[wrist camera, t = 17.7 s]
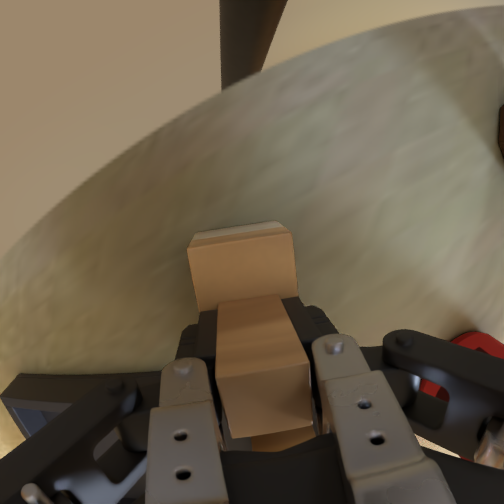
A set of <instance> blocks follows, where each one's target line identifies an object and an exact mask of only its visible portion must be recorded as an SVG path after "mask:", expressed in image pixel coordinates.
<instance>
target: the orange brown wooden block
mask: <svg viewBox="0 0 504 504" xmlns="http://www.w3.org/2000/svg"><path fill="white" fill-rule="evenodd" d="M314 437H316V435H315V432H314V429H313V426H312V425H310V426H305V427H301V428H296V429H291V430H286V431H280V432H275V433H269V434H263V435H256V436H251V444H252V451H258V452H278V451H282V450H285V449H287V448H290V447H292V446H295V445H297V444H300V443H302V442H305V441H307V440H309V439H312V438H314Z"/></svg>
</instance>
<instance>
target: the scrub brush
mask: <svg viewBox="0 0 504 504" xmlns="http://www.w3.org/2000/svg"><path fill="white" fill-rule="evenodd" d="M187 255H188V260H189V265H190V270H191V275H192V280H193V285H194V290H195V295H196V300H197V304H198V309H199V314H200V311H207V310H214V309H218V316H217V342H216V361H215V380H216V384H217V388H218V392H219V395H220V399H221V403H222V407H223V410H224V414H225V418H226V421H227V425H228V428H229V432H230V435H231V437H232V438H242V437H249V436H256V435H263V434H269V433H275V432H280V431H286V430H291V429H296V428H301V427H305V426H310V425H312V424H313V411H312V389H311V371H310V361H309V359H308V357H307V354H306V352H305V350H304V348H303V346H302V344H301V342H300V340H299V338H298V336H297V333H296V331H295V329H294V327H293V325H292V323H291V320H290V318H289V316H288V314H287V312H286V310H285V308H284V305H283V303H282V301H281V299H284V298H290V297H296V296H298V286H297V276H296V266H295V256H294V247H293V238H292V233H291V232H290V231H289V230H288V229H286V228H285V227H284V226H283V225H281V224H280V223H279V222H278V221H276V220H275V221H269V222H262V223H255V224H248V225H242V226H235V227H229V228H222V229H216V230H210V231H203V232H197V233H195V235H194V236H193V238H192V240H191V242H190V244H189V246H188V247H187ZM298 297H299V296H298Z"/></svg>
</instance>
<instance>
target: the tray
mask: <svg viewBox="0 0 504 504" xmlns="http://www.w3.org/2000/svg"><path fill="white" fill-rule="evenodd" d="M161 373H162V371H157V372H144V373H127V374H104V375H37V374H18V375H17V377H16V378H15V379H14V380H13V381H12V382H11V383H10V385H9V386H8V387H7V388H6V389H5V390H4V392H3V393H2V394H1V395H0V398H1V400H2V402H3V404H4V405H5V407H6V409H7V410H8V412H9V414H10V415H11V417H12V418H13V420H14V422H15V423H16V425H17V426H18V428H19V429H20V431H21V432H22V434H23V435H24V437H25V438H26V440H27V439H28V438H29V437H30V436H32V435H33V434H34V433H36V432H37V431H38V430H40V429H41V428H42V427H44V426H45V425H46V424H47V423H49V422H50V421H51V420H53V419H54V418H55V417H57V416H58V415H59V414H60V413H62V412H63V411H64V410H66V409H67V408H68V407H69V406H71V405H72V404H73V403H75V402H76V401H77V400H78V399H80V398H81V397H82V396H84V395H85V394H86V393H88V392H89V391H90V390H91V389H93V388H94V387H95V386H97V385H98V384H99V383H100V382H102V381H103V380H105V379H107V378H109V377H112V376H115V375H130V376H133V377H134V378H135V379H136V380H137V383H138V385H139V386H141V385H145V384H148V383H152V382H155V381H158V380H160V379H161ZM312 411H313V424H312V426H313V429H314V432H315V435H316V436H319V434H318V428H317V422H316V417H315V405H314V400H313V398H312ZM222 426H223V429H224V434H225V439H226V443H227V448H228V451H232V450H239V451H252V444H251V436H249V437H242V438H232V437H231V435H230V432H229V428H228V425H227V421H226V418H225V414H224V413H222ZM118 439H119V438H118V436H117V434H116V433H115V431H114V429H113V430H112V431H111V432H110V433H109V434H108V435H107V436H106V437H104V438H103V439H102V440H101V441H100V442H99V443H98V444H97V445H96V447H95V448H94V452H93V456H94V459H95V461H96V460H97V459H98V458H99V457H100V456H101V455H102V454H103V453H104V452H106V451H107V450H108V449H109V448H110V447H111V446H112V445H113V444H114V443H115V442H116V441H117V440H118ZM145 491H146V472H145V473H144V474H143V475H142V477H141V478H140V479H139V480H138V481H137V482H136V483H135V484H134V486H133V487H132V488H131V489H130V490H129V491H128V492H127V493H126V494H125V495H124V497H123V498H122V499H121V500H120V501H119V502H118V503H117V504H132V503H133V502H134V501H135V500H136V499H138V498H139V497H140V496H141V495H142V494H143V493H145Z"/></svg>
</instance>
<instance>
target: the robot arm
mask: <svg viewBox="0 0 504 504" xmlns="http://www.w3.org/2000/svg"><path fill="white" fill-rule="evenodd" d="M281 301H282V303H283V305H284V308H285V310H286V312H287V314H288V316H289V318H290V320H291V323H292V325H293V327H294V329H295V331H296V333H297V336H298V338H299V340H300V342H301V344H302V346H303V348H304V350H305V352H306V354H307V357H308V359H309V361H310V371H311V389H312V398H313V400H314V405H315V417H316V422H317V428H318V434H319V436H316V437H314V438H312V439H309V440H307V441H305V442H302V443H300V444H297V445H295V446H292V447H290V448H287V449H285V450H282V451H278V452H258V451H239V450H232V451H228V448H227V443H226V439H225V434H224V429H223V426H222V413H224V410H223V407H222V403H221V399H220V395H219V392H218V388H217V384H216V380H215V361H216V342H217V316H218V309H214V310H207V311H200V316H199V321H198V324H193V325H188V326H187V327H186V328H185V329H184V330H183V331H182V334H181V338H180V339H181V340H180V342H179V346H178V350H177V354H176V358H175V361H172V362H170V363H169V364H167V365H166V366H165V367H164V368H163V370H162V373H161V379H160V380H158V381H155V382H152V383H148V384H145V385H141V386H139V385H138V383H137V380H136V379H135V378H134V377H133V376H130V375H115V376H112V377H109V378H107V379H105V380H103V381H102V382H100V383H99V384H98V385H97V386H95V387H94V388H93V389H91V390H90V391H89V392H88V393H86V394H85V395H84V396H82V397H81V398H80V399H78V400H77V401H76V402H75V403H73V404H72V405H71V406H69V407H68V408H67V409H66V410H64V411H63V412H62V413H60V414H59V415H58V416H57V417H55V418H54V419H53V420H51V421H50V422H49V423H47V424H46V425H45V426H44V427H42V428H41V429H40V430H38V431H37V432H36V433H34V434H33V435H32V436H30V437H29V438H28V439H27V440H25V441H24V442H23V443H21V444H20V445H19V446H17V447H16V448H15V449H13V450H12V451H11V452H10V453H8V454H7V455H6V456H4V457H3V458H2V459H0V504H117V503H118V502H119V501H120V500H121V499H122V498H123V497H124V495H125V494H126V493H127V492H128V491H129V490H130V489H131V488H132V487H133V486H134V484H135V483H136V482H137V481H138V480H139V479H140V478H141V477H142V475H143V474H144V473H145V472H146V491H145V493H143V494H142V495H141V496H140V497H139V498H138V499H136V500H135V501H134V502H133V503H132V504H504V359H502V358H499V357H496V356H492V355H489V354H486V353H483V352H480V351H476V350H473V349H470V348H467V347H464V346H461V345H457V344H454V343H451V342H448V341H445V340H442V339H439V338H436V337H433V336H430V335H426V334H423V333H420V332H417V331H414V330H408V329H401V330H395V331H392V332H390V333H388V334H387V335H385V337H384V338H383V346H376V347H359V346H358V344H357V342H356V341H355V339H354V338H352V337H351V336H348V335H345V334H339V333H338V331H337V330H336V328H335V327H334V326H333V324H332V323H331V322H330V320H329V319H328V317H326V315H325V313H324V312H323V311H322V309H320V308H317V307H315V306H313V305H312V306H307V307H305V306H304V305H303V303H302V302H301V300H300V298H299V297H298V296H296V297H290V298H284V299H281ZM421 378H423V379H425V380H427V381H430V382H432V383H435V384H437V385H440V386H442V387H444V388H445V389H446V390H447V391H448V393H449V396H450V399H449V403H448V402H446V401H443V400H441V399H439V398H436V397H434V396H432V395H429V394H427V393H425V392H422V391H420V390H418V389H419V384H420V379H421ZM113 429H114V431H115V433H116V434H117V436H118V438H119V439H118V440H117V441H116V442H115V443H114V444H113V445H112V446H111V447H110V448H109V449H108V450H107V451H106V452H104V453H103V454H102V455H101V456H100V457H99V458H98V459H97V460H96V461H95V459H94V456H93V452H94V448H95V447H96V445H97V444H98V443H99V442H100V441H101V440H102V439H103V438H104V437H106V436H107V435H108V434H109V433H110V432H111V431H112V430H113ZM415 434H416V435H418V436H420V437H422V438H424V439H426V440H428V441H430V442H432V443H434V444H437V445H439V446H441V447H443V448H445V449H447V450H449V451H451V452H453V453H455V454H458V455H460V456H462V457H464V458H466V459H469V460H471V461H468V460H465V459H461V458H458V457H454V456H451V455H448V454H444V453H441V452H438V451H435V450H432V449H429V448H426V447H423V446H420V444H419V442H418V440H417V438H416V436H415ZM472 461H473V462H472Z"/></svg>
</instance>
